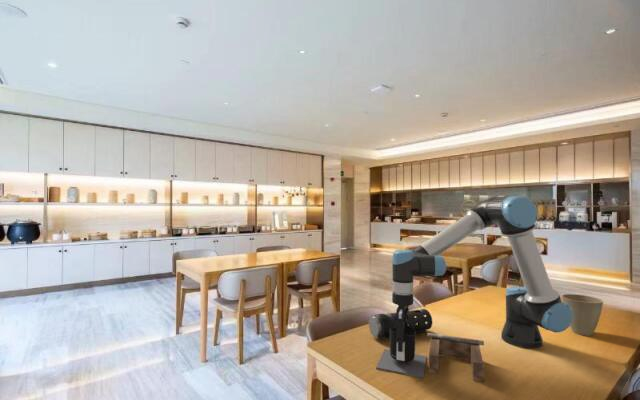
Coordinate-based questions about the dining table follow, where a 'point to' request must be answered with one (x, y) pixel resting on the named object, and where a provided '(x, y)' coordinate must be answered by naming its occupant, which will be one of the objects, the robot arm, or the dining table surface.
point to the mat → (402, 365)
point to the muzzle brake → (385, 321)
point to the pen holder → (409, 343)
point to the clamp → (456, 352)
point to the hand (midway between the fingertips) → (402, 354)
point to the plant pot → (584, 312)
